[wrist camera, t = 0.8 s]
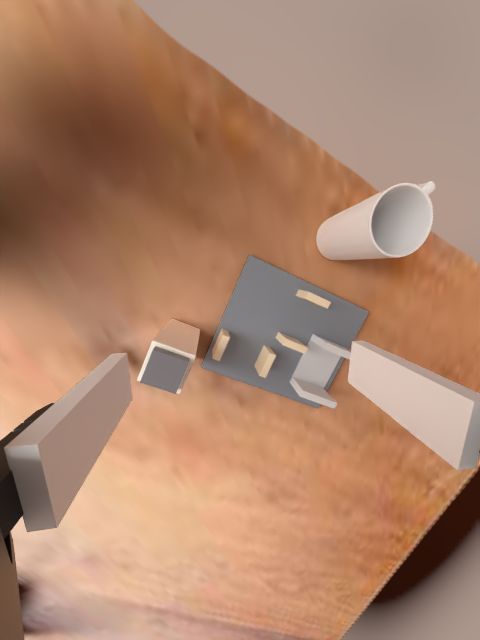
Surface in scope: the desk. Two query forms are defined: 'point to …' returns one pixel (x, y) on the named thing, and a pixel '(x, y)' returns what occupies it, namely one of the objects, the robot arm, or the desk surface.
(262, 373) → the board
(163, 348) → the block
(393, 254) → the mug
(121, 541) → the desk surface
